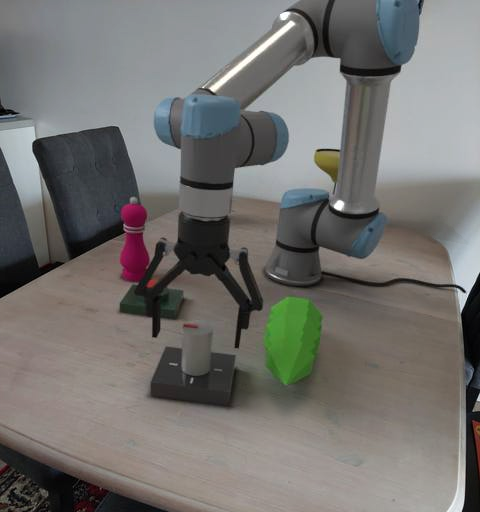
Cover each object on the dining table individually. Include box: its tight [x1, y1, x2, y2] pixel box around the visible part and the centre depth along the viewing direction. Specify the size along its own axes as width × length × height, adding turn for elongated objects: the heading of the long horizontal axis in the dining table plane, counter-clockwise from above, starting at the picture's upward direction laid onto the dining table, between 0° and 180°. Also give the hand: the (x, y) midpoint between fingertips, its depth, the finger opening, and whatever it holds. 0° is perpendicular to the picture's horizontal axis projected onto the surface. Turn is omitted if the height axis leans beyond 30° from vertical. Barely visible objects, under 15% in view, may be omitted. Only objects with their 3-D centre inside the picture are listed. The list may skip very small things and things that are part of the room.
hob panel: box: [150, 346, 237, 407], centre depth 82 cm, size 13×11×3 cm
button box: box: [119, 283, 185, 320], centre depth 104 cm, size 12×10×4 cm
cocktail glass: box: [313, 148, 340, 195], centre depth 168 cm, size 18×18×25 cm
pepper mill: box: [119, 196, 151, 282], centre depth 113 cm, size 7×7×20 cm
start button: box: [147, 279, 162, 293], centre depth 103 cm, size 4×4×2 cm
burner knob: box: [181, 319, 214, 376], centre depth 79 cm, size 5×5×8 cm
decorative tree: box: [262, 295, 323, 386], centre depth 87 cm, size 11×12×30 cm
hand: (196, 339), depth 78 cm, fingers open, 13 cm apart
